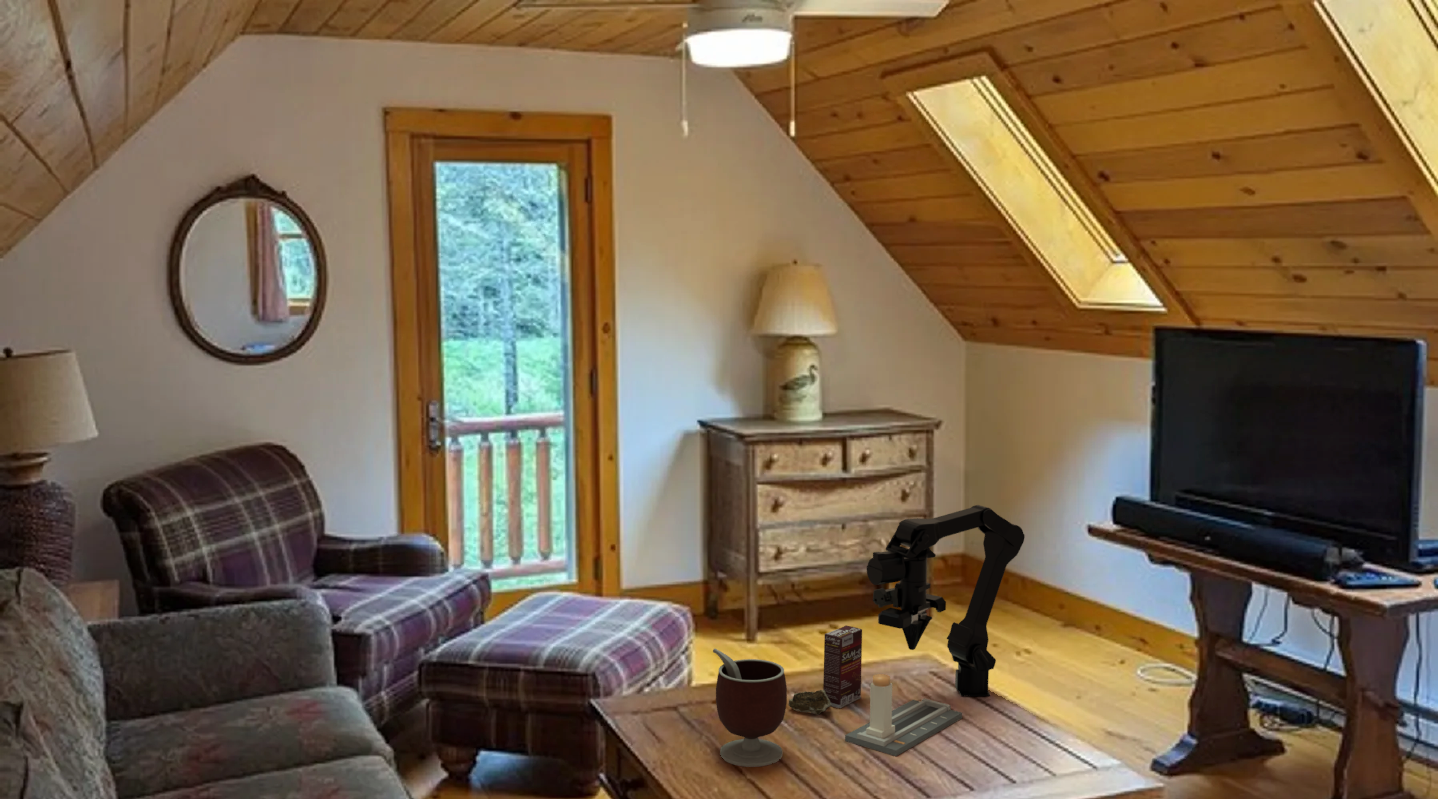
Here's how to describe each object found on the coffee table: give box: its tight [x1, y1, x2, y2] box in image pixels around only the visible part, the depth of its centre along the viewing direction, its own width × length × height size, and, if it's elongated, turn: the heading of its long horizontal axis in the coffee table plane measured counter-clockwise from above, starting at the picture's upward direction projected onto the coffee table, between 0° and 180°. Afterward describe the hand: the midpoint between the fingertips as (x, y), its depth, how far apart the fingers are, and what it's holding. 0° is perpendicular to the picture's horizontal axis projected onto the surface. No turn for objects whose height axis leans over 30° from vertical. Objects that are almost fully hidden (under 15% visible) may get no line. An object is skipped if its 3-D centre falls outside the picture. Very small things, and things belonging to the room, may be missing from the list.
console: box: [844, 698, 963, 757], centre depth 257 cm, size 26×12×2 cm, turn 140°
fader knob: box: [866, 673, 895, 739], centre depth 249 cm, size 5×4×12 cm
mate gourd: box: [712, 648, 788, 768], centre depth 244 cm, size 16×14×20 cm
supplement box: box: [822, 625, 863, 709], centre depth 272 cm, size 9×5×16 cm, turn 141°
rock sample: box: [788, 689, 832, 715], centre depth 268 cm, size 10×8×9 cm
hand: (911, 649), depth 269 cm, fingers closed
